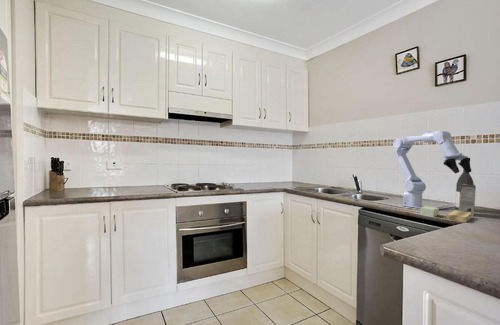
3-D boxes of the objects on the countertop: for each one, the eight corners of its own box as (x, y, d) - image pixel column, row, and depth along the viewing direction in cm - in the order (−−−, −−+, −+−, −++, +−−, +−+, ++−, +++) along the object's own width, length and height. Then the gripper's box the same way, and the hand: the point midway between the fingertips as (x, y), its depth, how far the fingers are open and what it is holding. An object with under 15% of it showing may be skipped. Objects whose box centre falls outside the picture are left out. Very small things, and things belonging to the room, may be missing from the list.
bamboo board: (447, 219, 127) (447, 214, 127) (454, 214, 137) (454, 210, 137) (465, 222, 122) (465, 217, 122) (471, 217, 132) (471, 212, 132)
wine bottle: (456, 210, 150) (459, 159, 149) (453, 207, 157) (456, 159, 156) (474, 212, 146) (477, 159, 145) (470, 209, 153) (473, 159, 152)
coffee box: (458, 211, 146) (460, 183, 146) (473, 213, 142) (475, 184, 142) (458, 214, 139) (460, 184, 139) (474, 216, 135) (476, 185, 135)
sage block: (420, 215, 136) (420, 207, 136) (425, 213, 141) (425, 206, 141) (433, 217, 131) (433, 209, 131) (438, 215, 136) (438, 208, 136)
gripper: (444, 145, 132) (458, 169, 125) (467, 145, 135) (482, 168, 128) (434, 153, 138) (446, 175, 131) (456, 152, 141) (469, 174, 134)
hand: (463, 172), depth 130 cm, fingers open, 7 cm apart
